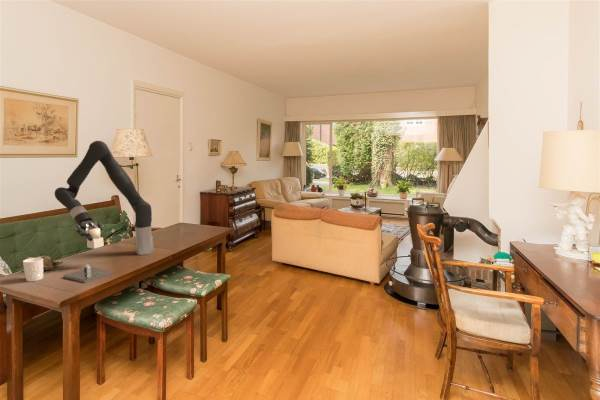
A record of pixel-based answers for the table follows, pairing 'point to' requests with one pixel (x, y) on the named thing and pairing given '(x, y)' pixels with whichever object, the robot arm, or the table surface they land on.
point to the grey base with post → (87, 274)
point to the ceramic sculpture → (47, 262)
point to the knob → (95, 238)
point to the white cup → (33, 269)
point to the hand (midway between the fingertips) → (97, 238)
